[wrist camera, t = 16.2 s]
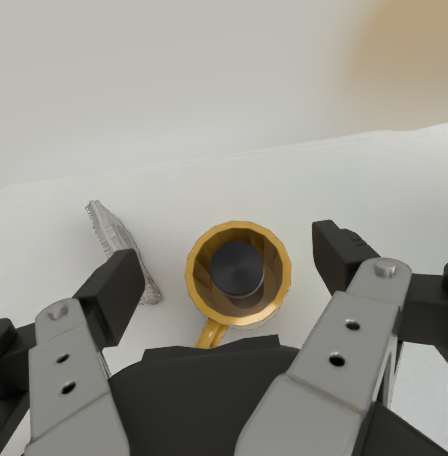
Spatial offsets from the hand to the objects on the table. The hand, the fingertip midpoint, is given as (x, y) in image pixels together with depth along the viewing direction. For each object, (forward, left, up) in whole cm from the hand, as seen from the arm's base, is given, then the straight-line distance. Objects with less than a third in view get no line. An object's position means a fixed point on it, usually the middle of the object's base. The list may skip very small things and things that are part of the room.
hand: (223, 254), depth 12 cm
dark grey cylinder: (0, -1, -16) cm, 17 cm away
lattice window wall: (+11, -8, -17) cm, 22 cm away
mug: (+1, 0, -17) cm, 17 cm away
